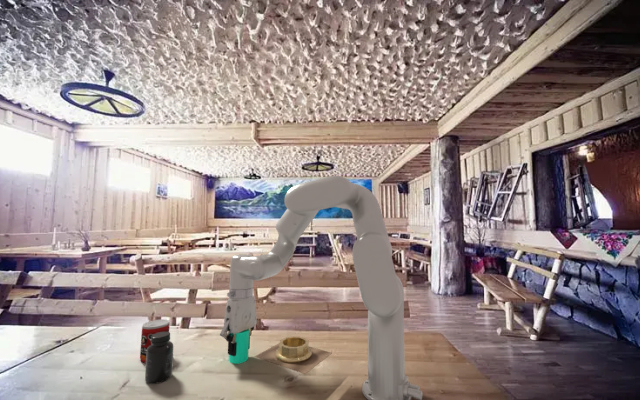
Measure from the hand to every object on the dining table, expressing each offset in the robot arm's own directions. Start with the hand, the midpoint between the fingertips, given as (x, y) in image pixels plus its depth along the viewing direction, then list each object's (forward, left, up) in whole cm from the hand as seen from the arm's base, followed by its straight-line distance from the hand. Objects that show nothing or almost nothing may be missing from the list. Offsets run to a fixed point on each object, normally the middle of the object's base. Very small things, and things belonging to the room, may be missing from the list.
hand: (238, 351), depth 88 cm
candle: (0, 0, -4) cm, 4 cm away
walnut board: (-13, -12, -4) cm, 18 cm away
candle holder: (-13, -12, -2) cm, 18 cm away
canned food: (+27, +12, -4) cm, 30 cm away
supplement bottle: (+13, +18, -4) cm, 23 cm away
